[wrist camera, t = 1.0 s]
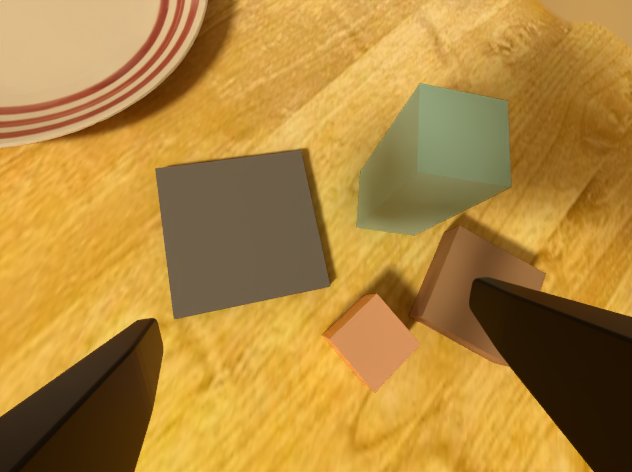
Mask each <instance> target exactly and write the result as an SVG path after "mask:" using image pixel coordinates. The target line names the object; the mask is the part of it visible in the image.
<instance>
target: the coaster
mask: <svg viewBox="0 0 632 472" xmlns="http://www.w3.org/2000/svg"><path fill="white" fill-rule="evenodd" d="M155 170H156V178H157V186H158V194H159V202H160V210H161V219H162V227H163V235H164V243H165V251H166V259H167V267H168V275H169V283H170V291H171V299H172V307H173V315H174V319H178V318H182V317H187V316H192V315H197V314H202V313H206V312H211V311H216V310H221V309H225V308H230V307H235V306H240V305H244V304H249V303H254V302H259V301H264V300H268V299H273V298H278V297H283V296H287V295H292V294H297V293H302V292H306V291H311V290H316V289H321V288H325V287H329V286H330V282H329V277H328V273H327V268H326V263H325V259H324V254H323V249H322V245H321V240H320V236H319V231H318V226H317V222H316V217H315V213H314V208H313V203H312V199H311V194H310V190H309V185H308V180H307V176H306V171H305V167H304V162H303V157H302V153H301V150H298V151H290V152H282V153H274V154H266V155H258V156H250V157H242V158H235V159H227V160H219V161H211V162H203V163H195V164H187V165H179V166H171V167H163V168H155Z"/></svg>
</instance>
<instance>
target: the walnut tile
mask: <svg viewBox="0 0 632 472" xmlns="http://www.w3.org/2000/svg"><path fill="white" fill-rule="evenodd" d="M545 274H546V273H544V272H542V271H540V270H538V269H537V268H535V267H533V266H531V265H530V264H528V263H526V262H524V261H522V260H521V259H519V258H517V257H515V256H513V255H512V254H510V253H508V252H506V251H504V250H503V249H501V248H499V247H497V246H495V245H494V244H492V243H490V242H488V241H487V240H485V239H483V238H481V237H479V236H478V235H476V234H474V233H472V232H470V231H469V230H467V229H465V228H463V227H461V226H458V227H455V228H453V229H451V230H448V231H446V232H444V234H443V236H442V238H441V241H440V243H439V245H438V248H437V250H436V253H435V255H434V257H433V260H432V262H431V264H430V267H429V269H428V271H427V274H426V276H425V278H424V281H423V283H422V286H421V288H420V290H419V293H418V295H417V297H416V300H415V302H414V304H413V307H412V309H411V312H410V314H409V317H411V318H413V319H415V320H417V321H419V322H420V323H422V324H424V325H426V326H428V327H429V328H431V329H433V330H435V331H437V332H439V333H440V334H442V335H444V336H446V337H448V338H449V339H451V340H453V341H455V342H457V343H459V344H460V345H462V346H464V347H466V348H468V349H469V350H471V351H473V352H475V353H477V354H479V355H480V356H482V357H484V358H486V359H488V360H489V361H491V362H493V363H496V364H500V365H505V366H509V365H508V364H507V363H506V361H505V360H504V359H503V357H502V356H501V355H500V354H499V352H498V351H497V349H496V348H495V346H494V345H493V343H492V342H491V340H490V339H489V337H488V336H487V334H486V333H485V331H484V330H483V328H482V327H481V325H480V324H479V322H478V321H477V319H476V318H475V316H474V315H473V313H472V312H471V310H470V307H469V297H470V291H471V285H472V282H473V280H474V279H475V278H481V277H491V278H494V279H498V280H501V281H505V282H508V283H512V284H516V285H519V286H523V287H526V288H530V289H533V290H537V291H540V290H541V287H542V284H543V281H544V277H545ZM509 367H510V366H509Z"/></svg>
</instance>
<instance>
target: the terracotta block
mask: <svg viewBox="0 0 632 472" xmlns="http://www.w3.org/2000/svg"><path fill="white" fill-rule="evenodd" d="M322 336H323V337H324V338H325V340H326V341H327V342H328V343H329V344H330V346H331V347H332V348H333V349H334V350H335V351H336V353H337V354H338V355H339V356H340V357H341V359H342V360H343V361H344V362H345V363H346V365H347V366H348V367H349V368H350V369H351V370H352V372H353V373H354V374H355V375H356V376H357V378H358V379H359V380H360V381H361V382H362V383H363V384H364V385H366V386H367V387H368V388H370V389H371V390H372V391H373V392H376V391H377V390H378V389H379V388H380V387H381V386H382V385H383V384H384V383H385V382H386V380H387V379H388V378H389V377H390V376H391V375H392V374H393V373H394V372H395V371H396V370H397V369H398V368H399V367H400V366H401V365H402V363H403V362H404V361H405V360H406V359H407V358H408V357H409V356H410V355H411V354H412V353H413V352H414V351H415V350H416V349H417V348H418V346H419V345H420V343H419V341H418V340H417V339H416V338H415V337H414V336H413V335H412V333H411V332H410V331H409V330H408V329H407V328H406V326H405V325H404V324H403V323H402V322H401V321H400V320H399V318H398V317H397V316H396V315H395V314H394V313H393V312H392V310H391V309H390V308H389V307H388V306H387V305H386V303H385V302H384V301H383V300H382V299H381V298H380V297H379V295H378V294H371V295H364V296H363V297H362V298H361V299H360V300H359V301H357V302H356V303H355V304H354V305H353V306H352V307H351V308H350V309H349V310H348V311H347V312H346V313H345V314H344V315H343V316H342V317H340V318H339V319H338V320H337V321H336V322H335V323H334V324H333V325H332V326H331V327H330V328H329V329H328V330H327V331H326V332H325V333H324V334H322Z"/></svg>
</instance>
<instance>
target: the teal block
mask: <svg viewBox="0 0 632 472" xmlns="http://www.w3.org/2000/svg"><path fill="white" fill-rule="evenodd" d="M509 188H511V166H510V142H509V118H508V101H507V100H502V99H497V98H492V97H487V96H482V95H477V94H472V93H467V92H462V91H457V90H452V89H447V88H442V87H437V86H432V85H427V84H422V83H420V84H419V85H418V87H417V88H416V90H415V91H414V93H413V94H412V96H411V97H410V98H409V100H408V101H407V103H406V104H405V106H404V107H403V109H402V110H401V112H400V113H399V115H398V116H397V118H396V119H395V121H394V122H393V124H392V125H391V127H390V128H389V130H388V131H387V132H386V134H385V135H384V137H383V138H382V140H381V141H380V143H379V144H378V146H377V147H376V149H375V150H374V152H373V153H372V155H371V156H370V158H369V159H368V161H367V162H366V164H365V165H364V167H363V168H362V169H361V171H360V183H359V196H358V209H357V222H356V228H363V229H370V230H378V231H385V232H392V233H399V234H406V235H413V236H415V235H417V234H419V233H421V232H423V231H425V230H427V229H429V228H431V227H433V226H435V225H437V224H439V223H441V222H443V221H445V220H447V219H449V218H451V217H453V216H455V215H457V214H459V213H461V212H463V211H465V210H467V209H469V208H471V207H473V206H475V205H477V204H479V203H481V202H483V201H485V200H487V199H489V198H491V197H493V196H495V195H497V194H499V193H501V192H503V191H505V190H507V189H509Z"/></svg>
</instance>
